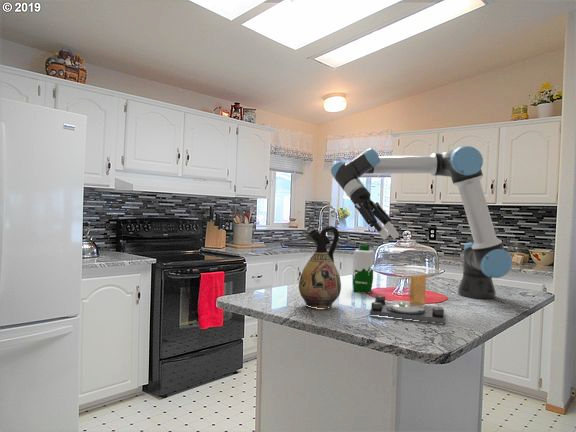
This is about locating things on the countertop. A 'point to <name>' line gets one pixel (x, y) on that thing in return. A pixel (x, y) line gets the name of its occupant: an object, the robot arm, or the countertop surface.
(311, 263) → the ceramic jug
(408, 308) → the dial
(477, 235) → the robot arm
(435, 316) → the tribrach plate
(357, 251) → the milk carton
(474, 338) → the countertop surface
